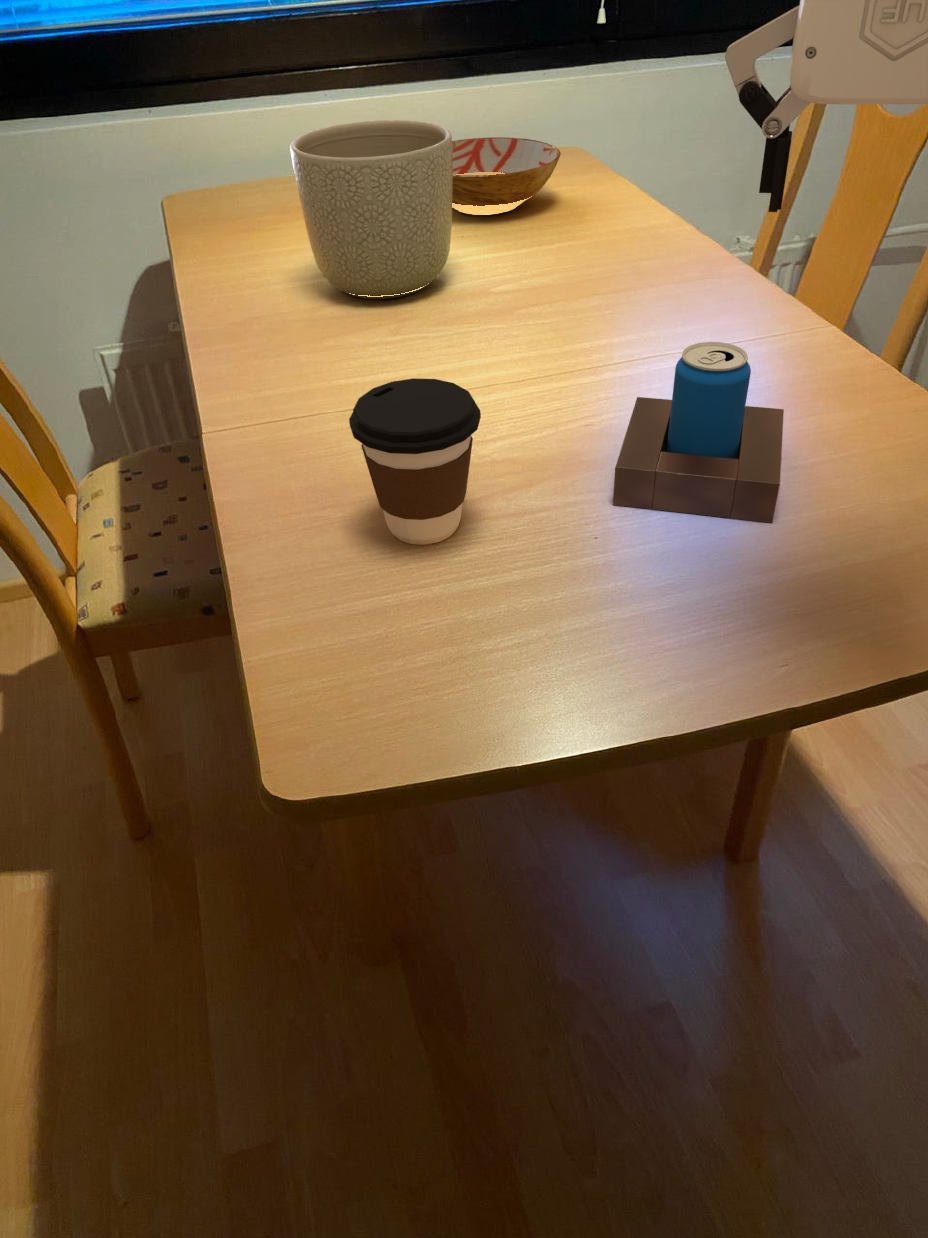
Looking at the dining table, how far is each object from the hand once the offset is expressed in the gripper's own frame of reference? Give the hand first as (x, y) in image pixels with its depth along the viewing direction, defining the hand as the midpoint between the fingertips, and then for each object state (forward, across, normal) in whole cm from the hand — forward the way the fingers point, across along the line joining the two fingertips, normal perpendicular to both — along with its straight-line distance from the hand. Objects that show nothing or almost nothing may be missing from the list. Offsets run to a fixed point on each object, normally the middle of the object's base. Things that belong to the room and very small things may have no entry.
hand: (859, 207), depth 55 cm
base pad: (+29, -8, +18) cm, 35 cm away
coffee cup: (+29, -31, +4) cm, 43 cm away
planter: (+28, -56, +61) cm, 87 cm away
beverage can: (+29, -8, +18) cm, 35 cm away
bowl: (+28, -52, +99) cm, 116 cm away
